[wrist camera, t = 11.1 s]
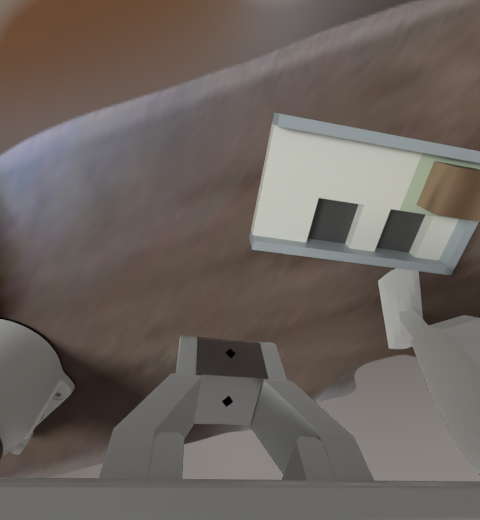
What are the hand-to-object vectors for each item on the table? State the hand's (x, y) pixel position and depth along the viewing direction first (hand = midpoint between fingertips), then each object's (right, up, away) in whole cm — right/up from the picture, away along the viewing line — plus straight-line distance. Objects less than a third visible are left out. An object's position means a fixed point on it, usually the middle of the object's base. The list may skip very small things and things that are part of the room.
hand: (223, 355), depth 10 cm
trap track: (+13, +10, +24) cm, 30 cm away
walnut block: (+22, +11, +23) cm, 33 cm away
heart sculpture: (+22, -4, +32) cm, 39 cm away
